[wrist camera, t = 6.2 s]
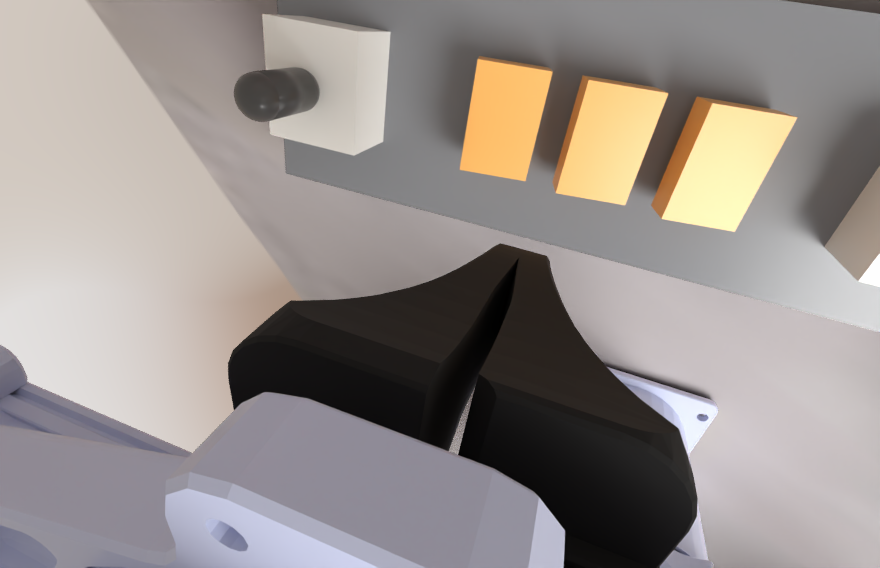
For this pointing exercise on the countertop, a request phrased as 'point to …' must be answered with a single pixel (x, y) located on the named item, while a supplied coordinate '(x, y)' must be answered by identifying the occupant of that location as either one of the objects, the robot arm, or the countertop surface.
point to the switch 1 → (504, 117)
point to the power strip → (684, 78)
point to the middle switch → (607, 139)
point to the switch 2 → (720, 162)
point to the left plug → (319, 83)
